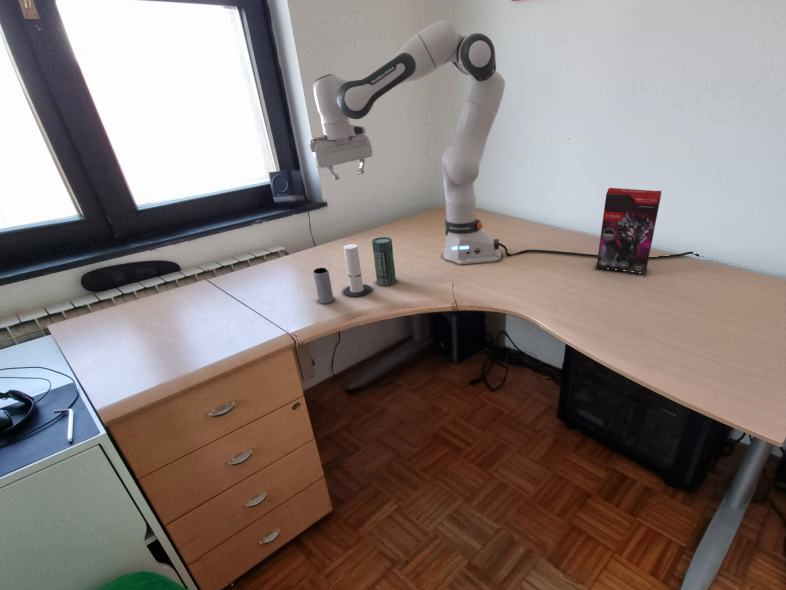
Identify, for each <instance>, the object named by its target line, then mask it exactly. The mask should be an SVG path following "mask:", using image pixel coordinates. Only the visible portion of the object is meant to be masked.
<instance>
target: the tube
mask: <svg viewBox="0 0 786 590" xmlns="http://www.w3.org/2000/svg"><path fill="white" fill-rule="evenodd" d="M343 252H344V254H343V255H344V259H345V266H346V271H347V272H346V273H347V278H348V283H349V286H350V291H351V292H354V293H357V292H361V291H363V290H364V289H363V285H364V282H363V277H362V268H361V263H360V262H361V261H360V256H359V248H358V245H357V244H354V243H349V244H346V245H343Z"/></svg>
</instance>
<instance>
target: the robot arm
mask: <svg viewBox="0 0 786 590" xmlns="http://www.w3.org/2000/svg"><path fill="white" fill-rule="evenodd" d="M450 62H451V63H452V64H453V65H454V66H455V67H456V69H458V71H459V72H461V73H462V74H463V75H466V76H469V77H470V81H471V85H470V91H469V93H468V96H467V98H466V101H465V103H464V106H463V109H462V111H461V114H460V117H459V120H458V123H457V126H456V132H455V135H454V140H453V144H452V145H451V146H449V147H447V149H445V151H444V152H443V154H442V158H441V168H442V181H443V189H444V201H445V202H444V203H445V219H444V233H445V245H444V250H443V254H442V257H443V259H445V260H447V261H449V262H452V263H453V262H454V263H456V264H457V265H469V264H470V265H471V264H481V263H482V264H483V263H493V262H498V261H500V260H501V258H502V251H501V249H500V247H502V248H503V249H504V252H505V255H506V256H507V257H512V256H513V257H514V256H517V255H521V254H524V253H547V254H560V255H570V256H581V257H590V258H591V257H592V258H598V254H591V253H582V252H572V251H559V250H547V249H523V250H521V251H518V252H516V253H509V252H508V248H507V247H506V245H504V244H503V243H501V242H500V240H499V238H494V237H493V236H492V235H491V234H489V233H488V232H487V231H485V230H483V223H482V221H481V219H479V218H477V217H476V215H477V214H476V212H477V211H476V205H477V203H476V198H477V197H476V193H475V185H474V183H475V181H476V180H477V179H478V176H479V173H480V169H481V164H482V160H483V157H484V153H485V149H486V146H487V141H488V138H489V135H490V133H491V130H492V129H493V125H494V124H495V121H496V118H497V115H498V112H499V110H500V107H501V104H502V101H503V97H504V92H505V88H506V80H505V78H504V77H503V76H502V74H501V73H499V71H497V63H496V49H495V45H494V43H493V41H492V40H491V38H489V36H487V35H486V34H484V33H481V32H480V33H479V32H477V33H471V34H468V35H465V36H464V35H461V33H460V32H459V30H458V29H457V27H456V26H455V24H454V23H453V22H451V21H450V20H448V19H442V20H439V21H437V22H434V23H432V24H430V25H429V26H426V27H425V28H423V29H421V30H420V31H419V32H417V33H416V34H414V35H413V36H411V38H409V39H408V40H407V41H406V42H405V43H403V45H402V46H401V47H400V48H399V49H398V51H397V52H396V53H395V54H394V55H393V57H391V59H390V60H389V61H387V62H386V63H385V64H384V65H382V66H381V67H380V68H378V69H376V70H374V71H373V72H371V73H370V74H369V75H367V76H366V77H364V78H362V79H356V80H350V81H349V80H347V79H344V78H341V77H339V76H338V75H336V74H334V73H330V74H326V75H323V76H321V77H318V78H316V79H315V80H314V82H313V85H312V91H313V97H314V102H315V106H316V110H317V113H318V114H319V116H320V121H321V122H320V123H321V128H322V132H323V135H320V136H314V137H312V138H311V139H310V141H309V147H310V152H312V158H313V162H314V166H315V167H316V168H318V169H324V168H326V170H327V172H329V174H330V175H331V176H332V179H333V181H339V180H340V177H339V173H335V172H334V166H337V165H343V164H346V163H350V162H354V161H358V163H359V167H358V168H356V169H357V173H358V175H362V174H365V170H364V167H365V163H366V160H365V159H369V158H371V157H373V153H374V151H373V146H372V144H371V141H370V139H369V136H368V135H366V131H367V130H366V128H365V127H364V126H361V125H355V124H351V122H350V121H349V119H352V120H361V119H363V118H364V117H366V116H367V115H369V114H370V113H371V111H372V110H373V107H374V103H375V102H376V101H377V100H378V99H379V98H381V97H383V95H385V94H387V93H388V92H390V91H391V90H393V89H394V88H395V87H397V86H399V85H401V84H404V83H407V82H411V81H412V82H413V81H417V80H418V81H419V80H421V79H423V78H425V77H427V76H429V75H431V74H432V73H434V72H435V71H437V70H438V69H439V68H441V67H442V66H444V65H446V64H448V63H450ZM693 252H694V251H686V252H682V253H675V254H668V255H669V256H664V255H657V256H658V257H649V259H648V260H650V259H651V260H652V259H653V260H654V259H665V258H676V257H682V256H686V255H693V256H696V257H700V254H699V253H698V254H693Z"/></svg>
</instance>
